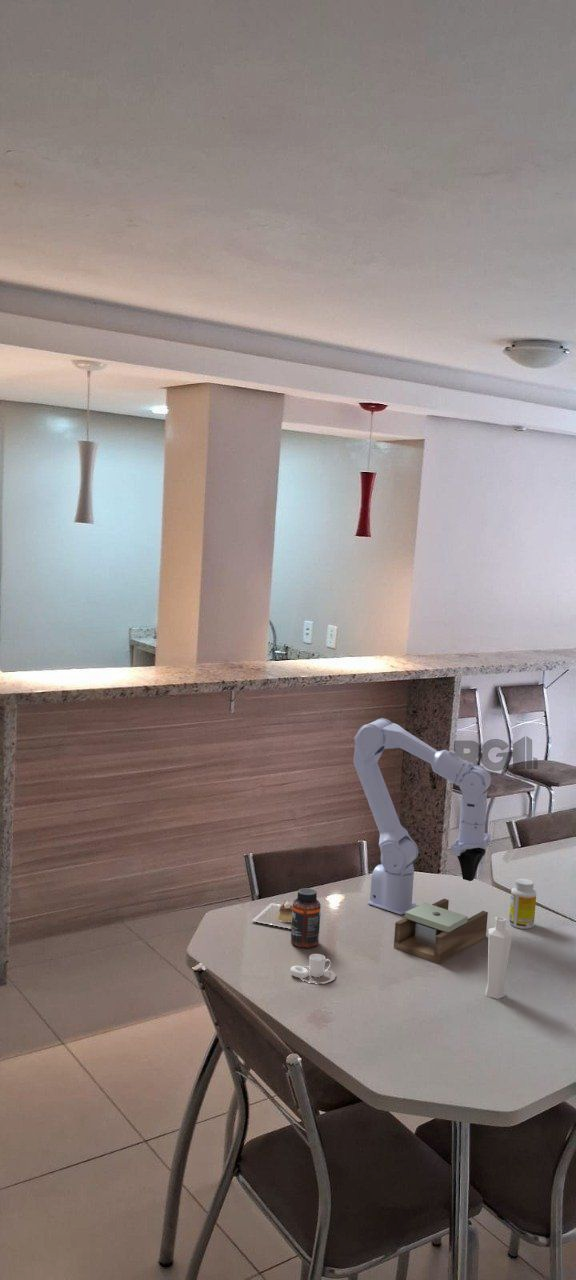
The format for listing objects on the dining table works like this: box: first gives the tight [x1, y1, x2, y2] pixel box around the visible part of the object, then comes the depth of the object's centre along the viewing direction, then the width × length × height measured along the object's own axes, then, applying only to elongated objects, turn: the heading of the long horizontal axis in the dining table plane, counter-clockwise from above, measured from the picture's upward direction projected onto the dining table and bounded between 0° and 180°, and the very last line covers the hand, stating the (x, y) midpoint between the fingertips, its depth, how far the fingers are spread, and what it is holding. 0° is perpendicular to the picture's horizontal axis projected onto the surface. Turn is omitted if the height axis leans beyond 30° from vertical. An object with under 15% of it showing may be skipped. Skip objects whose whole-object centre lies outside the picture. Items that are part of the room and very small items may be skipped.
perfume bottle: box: [484, 916, 513, 1000], centre depth 191 cm, size 5×4×15 cm
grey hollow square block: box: [415, 922, 444, 948], centre depth 212 cm, size 5×5×4 cm
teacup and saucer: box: [289, 953, 332, 985], centre depth 195 cm, size 9×8×4 cm
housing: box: [393, 898, 489, 965], centre depth 215 cm, size 11×20×6 cm, turn 141°
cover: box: [404, 902, 468, 932], centre depth 212 cm, size 11×8×2 cm
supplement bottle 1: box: [290, 887, 321, 949], centre depth 210 cm, size 6×6×11 cm
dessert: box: [251, 899, 293, 930], centre depth 223 cm, size 12×12×5 cm
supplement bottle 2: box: [508, 878, 537, 930], centre depth 226 cm, size 6×6×10 cm
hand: (468, 879), depth 226 cm, fingers closed
